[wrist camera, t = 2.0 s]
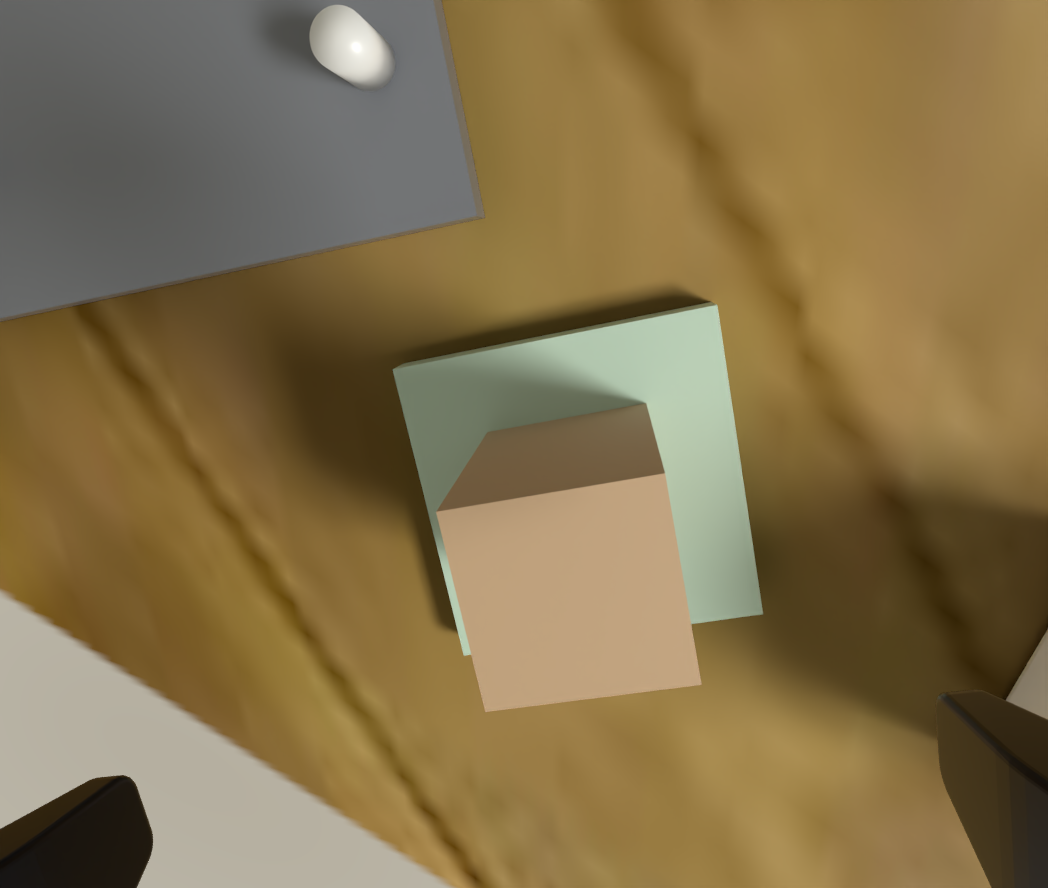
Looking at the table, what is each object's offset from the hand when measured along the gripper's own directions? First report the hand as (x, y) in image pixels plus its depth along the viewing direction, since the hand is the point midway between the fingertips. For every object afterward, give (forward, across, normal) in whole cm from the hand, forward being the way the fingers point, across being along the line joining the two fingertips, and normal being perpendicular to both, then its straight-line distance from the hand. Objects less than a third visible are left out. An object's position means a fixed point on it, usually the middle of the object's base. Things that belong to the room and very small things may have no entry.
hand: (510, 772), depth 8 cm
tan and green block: (+12, 0, 0) cm, 12 cm away
